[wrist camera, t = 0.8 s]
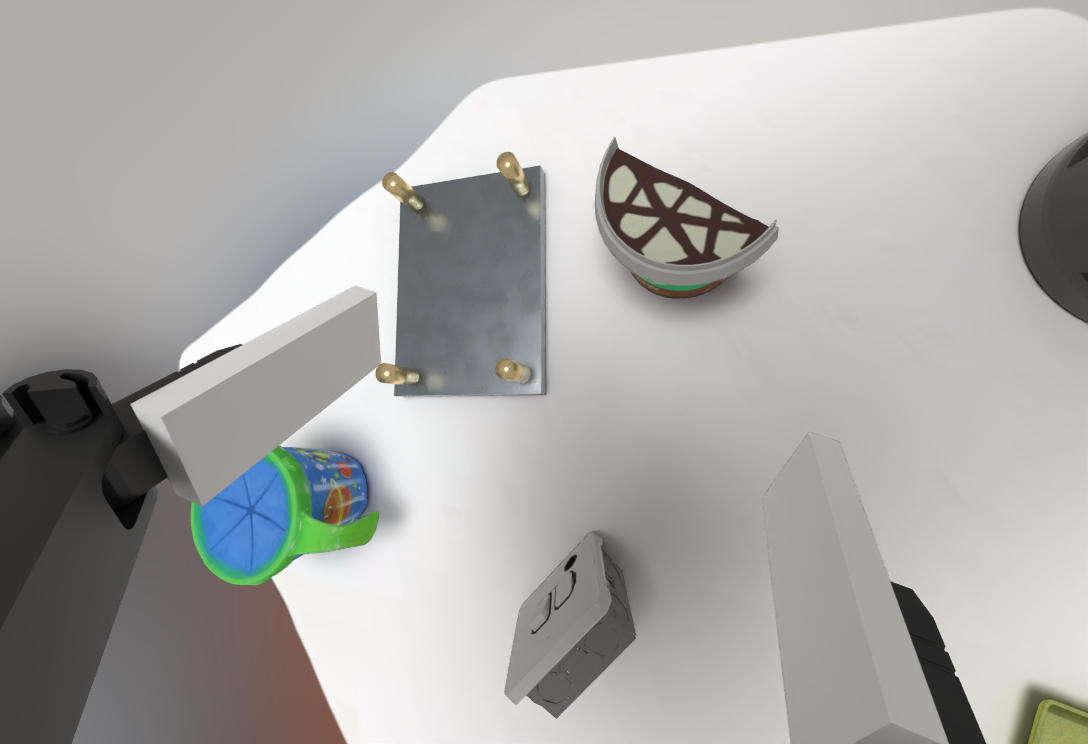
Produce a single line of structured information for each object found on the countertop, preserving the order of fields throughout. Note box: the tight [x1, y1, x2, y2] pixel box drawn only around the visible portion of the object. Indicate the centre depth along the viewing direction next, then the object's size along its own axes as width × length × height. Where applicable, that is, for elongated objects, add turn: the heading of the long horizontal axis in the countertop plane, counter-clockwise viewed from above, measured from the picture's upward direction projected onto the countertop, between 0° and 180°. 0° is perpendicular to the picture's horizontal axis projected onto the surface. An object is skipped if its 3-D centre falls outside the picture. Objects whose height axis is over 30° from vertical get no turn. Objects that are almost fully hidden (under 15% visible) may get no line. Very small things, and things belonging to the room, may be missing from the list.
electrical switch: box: [504, 532, 636, 719], centre depth 31 cm, size 9×5×9 cm, turn 138°
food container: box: [595, 137, 779, 298], centre depth 31 cm, size 12×6×10 cm, turn 54°
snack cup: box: [191, 446, 379, 585], centre depth 37 cm, size 16×10×10 cm
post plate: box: [376, 152, 546, 397], centre depth 38 cm, size 14×20×6 cm
